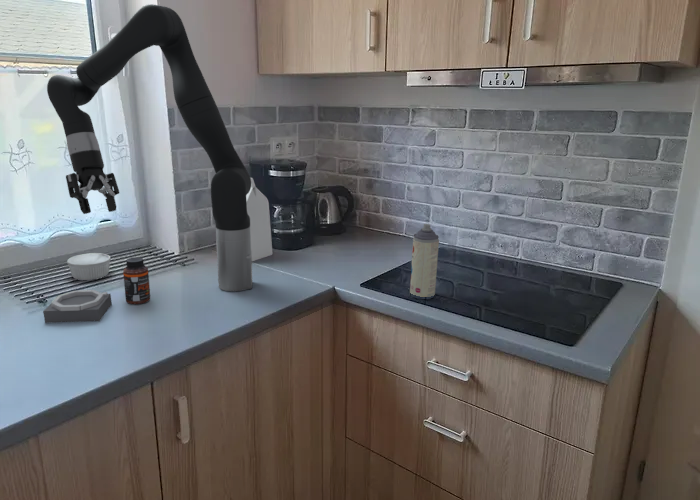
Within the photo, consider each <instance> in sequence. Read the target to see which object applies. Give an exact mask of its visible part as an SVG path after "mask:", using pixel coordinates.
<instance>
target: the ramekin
mask: <svg viewBox="0 0 700 500" xmlns="http://www.w3.org/2000/svg"><path fill="white" fill-rule="evenodd" d="M66 261H67V262H66V263H67V266H68V267H69V271H70V273H71V277H73V278H74V279H75V280H77V279H78V281H83V280H87V281H93V280H92V279H96V280H98V279H97V278H100V279H102V278H101V277H103V278H105V277H107V275H108V274H109V272H110V266H111V265H110V262H111V256H110V255H109V254H106V253H100V252H91V253H89V252H88V253H83V254H77V255H73V256H71V257H70V258H68V259H67V260H66ZM104 276H105V277H104Z"/></svg>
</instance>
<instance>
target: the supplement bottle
mask: <svg viewBox="0 0 700 500" xmlns="http://www.w3.org/2000/svg"><path fill="white" fill-rule="evenodd" d="M122 273H123V274H122V275H123V285H124V296H125V301H126V303H127V304H130V305H142V304H146V303H148V302H149V301H150V300H151V289H150V288H151V287H150V280H149V279H150V278H149V276H150V275H149V269H148V267H147V266H146V265H145V264H144V258H143V257H139V256H137V257H133V256H132V257H129V258H127V259H126V266H125V268H124V269H123V271H122Z"/></svg>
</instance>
